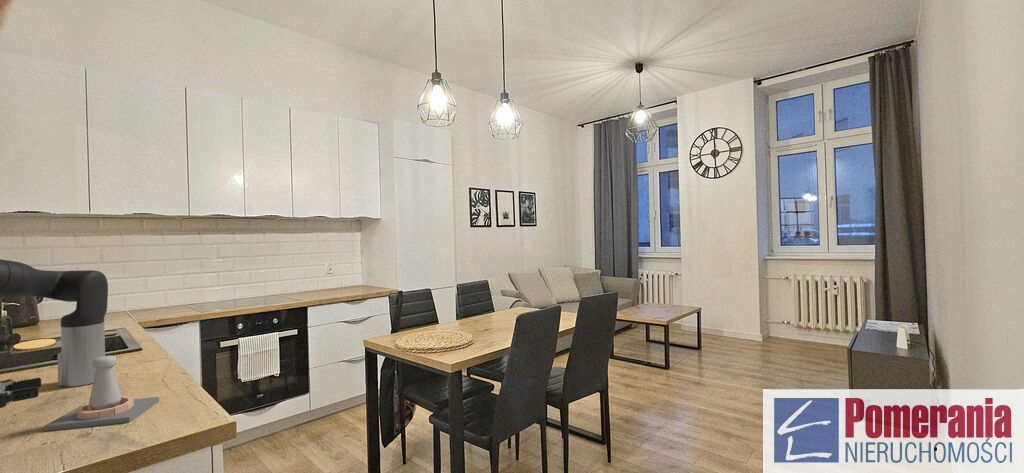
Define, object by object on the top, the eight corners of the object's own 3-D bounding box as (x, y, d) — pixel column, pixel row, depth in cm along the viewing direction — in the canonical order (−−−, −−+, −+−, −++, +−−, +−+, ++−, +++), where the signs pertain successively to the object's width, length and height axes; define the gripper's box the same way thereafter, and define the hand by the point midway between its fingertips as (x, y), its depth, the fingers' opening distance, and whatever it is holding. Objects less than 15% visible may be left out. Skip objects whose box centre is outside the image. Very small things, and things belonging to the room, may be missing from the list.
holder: (44, 431, 97) (44, 419, 97) (84, 408, 110) (84, 397, 110) (129, 422, 101) (129, 410, 101) (159, 401, 114) (158, 391, 114)
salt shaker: (101, 416, 102) (100, 361, 102) (82, 414, 103) (80, 359, 103) (128, 406, 108) (126, 354, 108) (109, 404, 109) (108, 353, 109)
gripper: (-91, 398, 81) (37, 377, 93) (-73, 380, 91) (41, 363, 103) (-90, 438, 81) (38, 412, 93) (-72, 416, 92) (42, 395, 103)
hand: (39, 386), depth 98 cm, fingers open, 8 cm apart
